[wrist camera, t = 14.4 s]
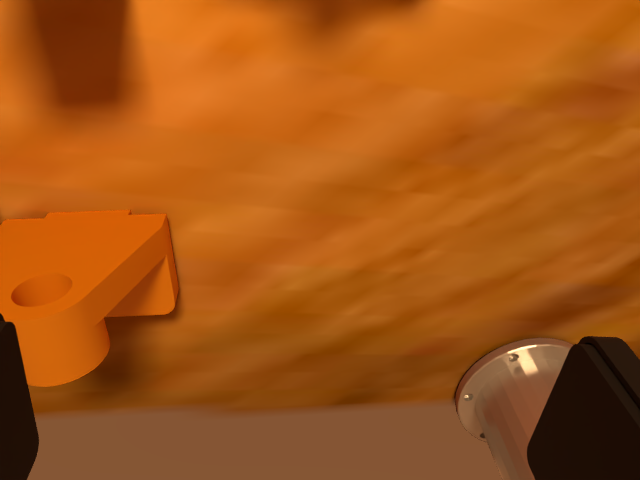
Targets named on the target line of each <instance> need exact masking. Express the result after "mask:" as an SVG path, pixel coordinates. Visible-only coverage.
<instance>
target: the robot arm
mask: <svg viewBox="0 0 640 480" xmlns="http://www.w3.org/2000/svg"><path fill="white" fill-rule="evenodd" d="M455 405H456V411H457V414H458V416H459V419H460V422H461V423H462V425H463V426H464V428H465V429H466V430H467V431H468V432H469V433H470V434H471V435H472V436H474V437H476V438H477V439H479V440H481V441H484V442H487V443H488V445H489V448H490V450H491V453H492V455H493V458H494V460H495V463H496V465H497V468H498V471H499V473H500V476H501V478H502V480H640V360H639V359H638V357H637V356H636V355H635V354H634V352H633V351H632V350H631V349H630V347H629V346H628V345H627V344H626V343H625V342H624V341H623V340H622V339H620V338H617V337H594V336H587V337H584V338H582V339H581V340H580V342H579V343H578V344H575V345H573V344H570V343H568V342H566V341H562V340H557V339H553V338H534V339H525V340H521V341H517V342H513V343H510V344H507V345H505V346H502V347H500V348H497V349H496V350H494V351H492V352H490V353H489V354H487V355H485V356H484V357H483V358H481V359H480V360H479V361H478V362H476V363H475V364H474V365H473V366H472V367H471V368H470V369H469V370H468V371H467V373H466V374H465V376H464V377H463V379H462V380H461V382H460V384H459V386H458V389H457V392H456V398H455ZM38 445H39V437H38V431H37V427H36V422H35V417H34V412H33V408H32V403H31V398H30V393H29V389H28V384H27V379H26V374H25V370H24V365H23V360H22V355H21V351H20V346H19V341H18V336H17V332H16V328H15V325H14V324H13V322H6V321H5V320H4V317H3V316H2V314H1V313H0V480H27V478H28V475H29V473H30V471H31V468H32V466H33V464H34V461H35V459H36V456H37V452H38Z"/></svg>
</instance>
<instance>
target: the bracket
mask: <svg viewBox="0 0 640 480" xmlns="http://www.w3.org/2000/svg"><path fill="white" fill-rule="evenodd" d="M178 291H179V286H178V280H177V274H176V268H175V262H174V256H173V250H172V244H171V238H170V232H169V226H168V220H167V214H142V215H132V214H131V210H113V211H86V212H59V213H48V214H47V215H46V217H45V218H36V219H9V220H4V222H3V223H2V224H1V225H0V313H1V314H2V316H3V317H4V320H5V321H6V322H13V324H14V325H15V328H16V332H17V336H18V341H19V346H20V351H21V355H22V360H23V365H24V370H25V374H26V379H27V384H28V385H32V386H39V387H47V386H56V385H61V384H65V383H68V382H71V381H74V380H76V379H78V378H80V377H82V376H84V375H86V374H88V373H89V372H91V371H92V370H93V369H95V368H96V367H97V366H98V365H99V364H100V363H101V362H102V361H103V360H104V358H105V357H106V355H107V354H108V351H109V348H110V339H109V336H108V332H107V328H106V324H105V320H104V317H122V316H143V315H163V314H168V313H170V312H171V311H172V310H173V309H174V307H175V303H176V299H177V295H178Z"/></svg>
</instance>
